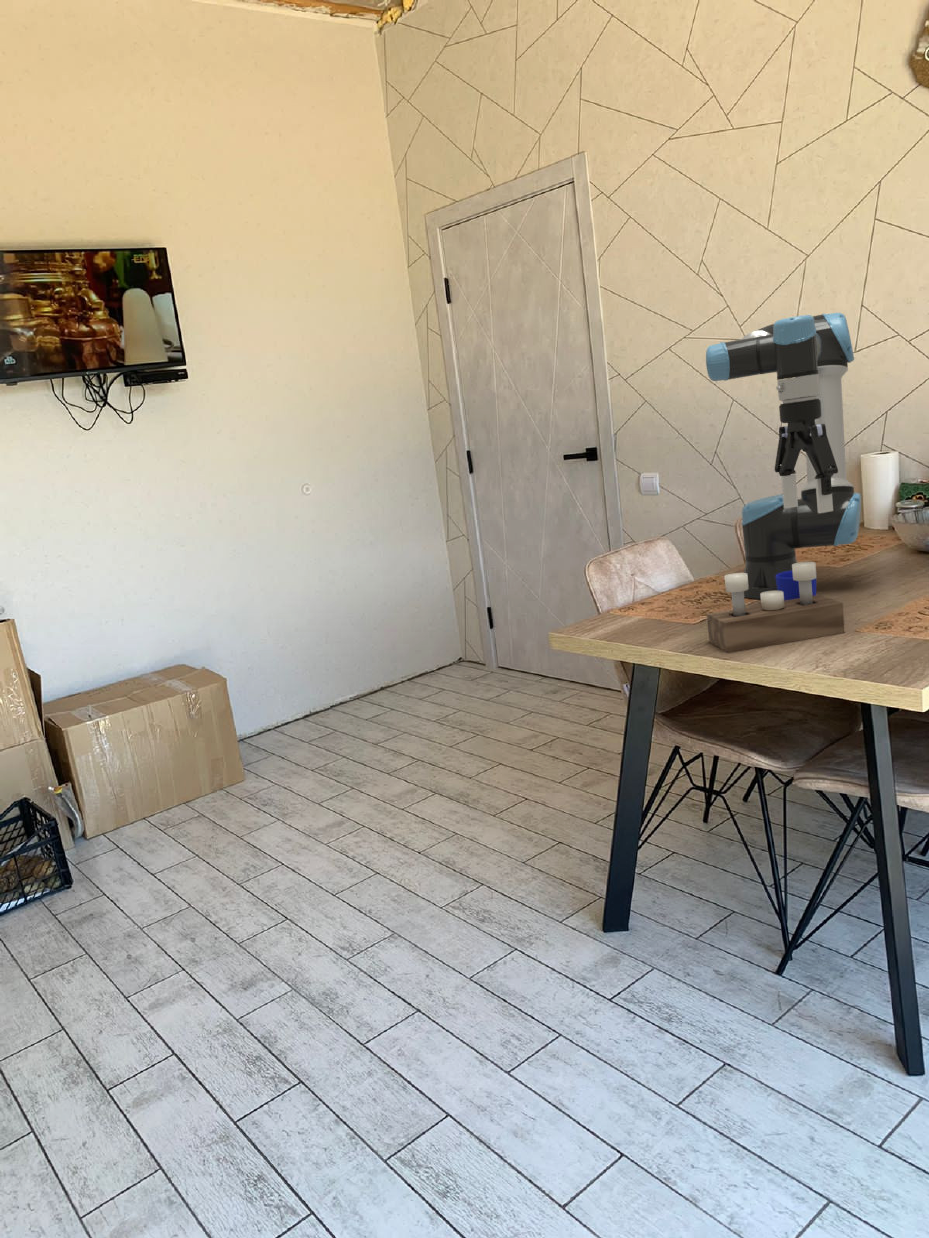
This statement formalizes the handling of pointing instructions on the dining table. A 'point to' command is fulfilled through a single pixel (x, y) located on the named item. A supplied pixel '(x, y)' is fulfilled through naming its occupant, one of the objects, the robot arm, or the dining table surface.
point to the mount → (775, 624)
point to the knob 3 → (804, 580)
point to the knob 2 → (772, 600)
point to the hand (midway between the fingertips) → (807, 509)
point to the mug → (791, 585)
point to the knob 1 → (737, 591)
